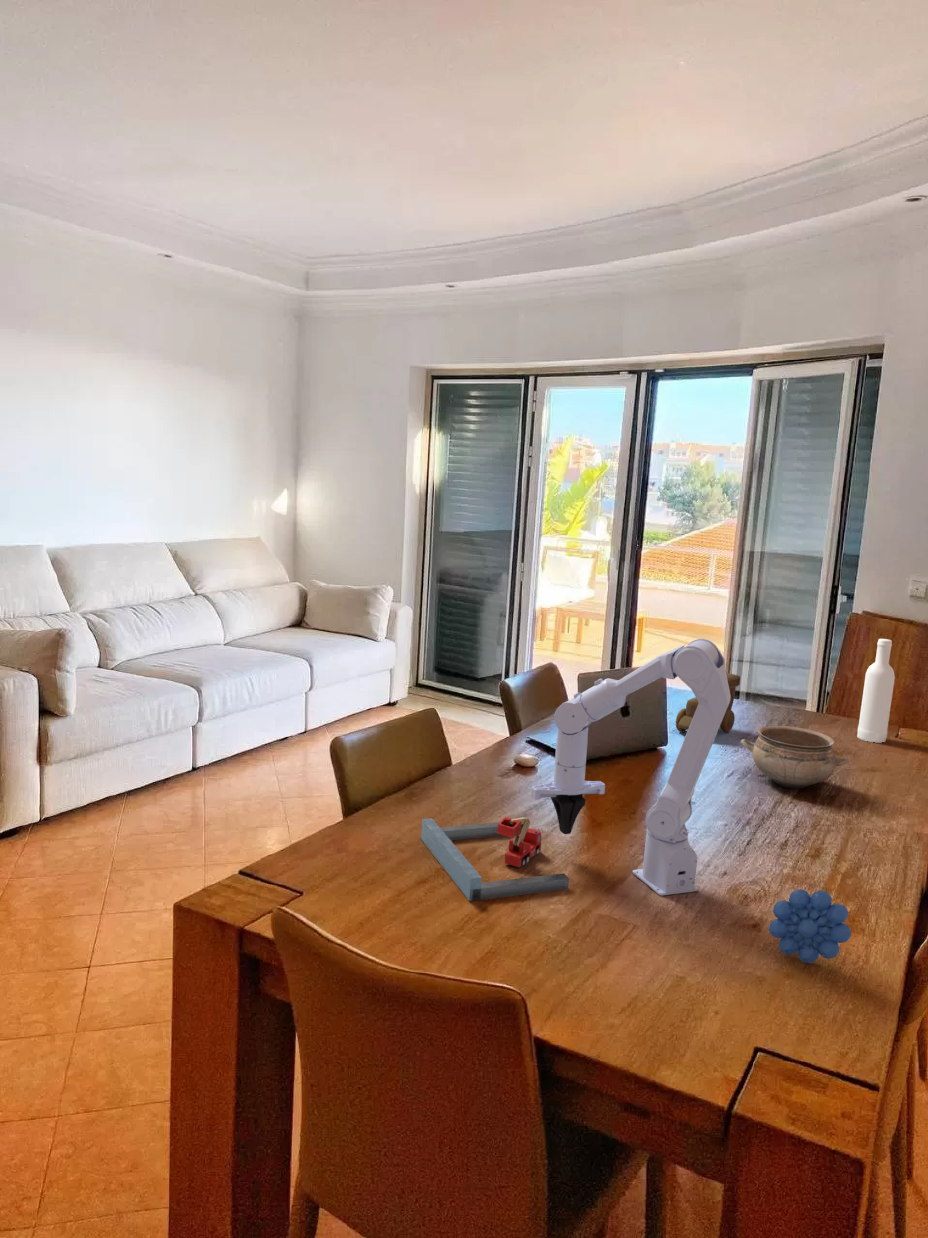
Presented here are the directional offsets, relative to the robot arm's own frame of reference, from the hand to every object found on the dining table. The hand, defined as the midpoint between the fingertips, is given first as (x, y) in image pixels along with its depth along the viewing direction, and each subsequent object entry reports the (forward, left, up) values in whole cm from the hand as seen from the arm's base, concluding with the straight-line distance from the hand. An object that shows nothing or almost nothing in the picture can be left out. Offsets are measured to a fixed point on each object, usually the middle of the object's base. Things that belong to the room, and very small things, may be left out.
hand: (565, 832), depth 169 cm
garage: (0, +15, -5) cm, 15 cm away
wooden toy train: (+68, -81, -5) cm, 106 cm away
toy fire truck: (-1, +10, -5) cm, 11 cm away
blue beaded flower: (-43, -20, -5) cm, 48 cm away
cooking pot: (+25, -75, -5) cm, 79 cm away
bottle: (+53, -129, -5) cm, 140 cm away
